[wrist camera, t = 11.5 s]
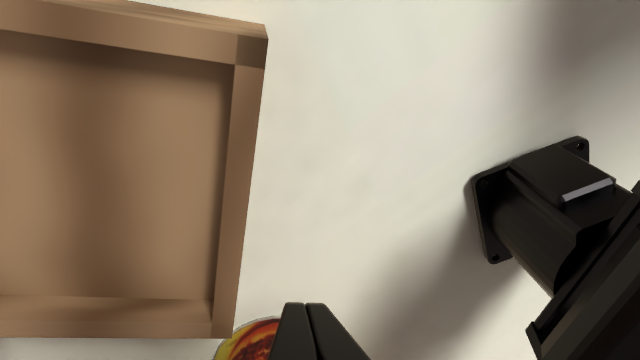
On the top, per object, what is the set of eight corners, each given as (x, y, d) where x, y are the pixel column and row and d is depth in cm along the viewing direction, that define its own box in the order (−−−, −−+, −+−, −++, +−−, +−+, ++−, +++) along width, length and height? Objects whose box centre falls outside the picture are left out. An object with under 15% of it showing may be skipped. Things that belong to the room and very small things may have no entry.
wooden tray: (268, -9, 16) (273, -3, 13) (232, 299, 24) (229, 357, 20) (-111, -83, 14) (-235, -101, 10) (-21, 292, 21) (-76, 358, 17)
